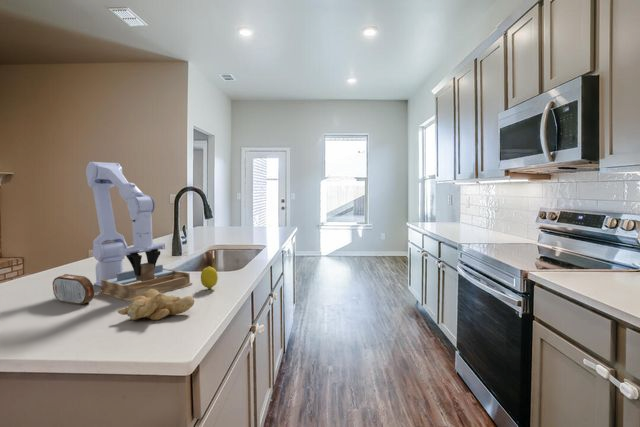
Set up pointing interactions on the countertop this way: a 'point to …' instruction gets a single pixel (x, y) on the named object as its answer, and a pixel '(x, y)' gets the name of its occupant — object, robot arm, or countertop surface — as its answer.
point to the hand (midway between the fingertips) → (144, 273)
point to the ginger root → (156, 305)
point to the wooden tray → (146, 285)
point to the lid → (131, 277)
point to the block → (146, 272)
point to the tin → (73, 289)
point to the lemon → (209, 277)
